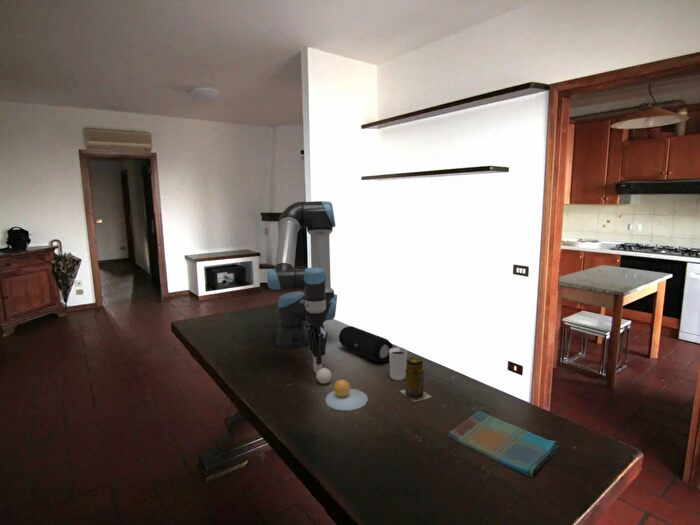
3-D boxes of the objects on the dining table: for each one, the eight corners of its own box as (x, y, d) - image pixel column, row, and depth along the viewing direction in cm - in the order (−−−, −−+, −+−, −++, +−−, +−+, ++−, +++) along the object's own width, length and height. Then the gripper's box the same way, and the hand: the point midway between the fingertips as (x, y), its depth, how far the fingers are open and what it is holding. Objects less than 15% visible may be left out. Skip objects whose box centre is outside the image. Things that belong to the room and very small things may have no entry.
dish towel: (532, 482, 92) (532, 472, 91) (446, 439, 109) (446, 430, 108) (559, 449, 103) (560, 440, 103) (477, 415, 120) (478, 407, 120)
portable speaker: (337, 349, 173) (336, 327, 172) (354, 343, 179) (354, 322, 178) (377, 367, 154) (377, 343, 152) (394, 360, 160) (394, 337, 158)
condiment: (417, 386, 138) (417, 354, 136) (432, 397, 130) (432, 363, 128) (399, 391, 134) (399, 358, 132) (413, 402, 127) (414, 367, 125)
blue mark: (338, 385, 139) (338, 385, 139) (374, 394, 133) (374, 393, 133) (317, 404, 127) (317, 403, 127) (356, 414, 120) (355, 414, 120)
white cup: (409, 374, 147) (409, 349, 145) (403, 381, 141) (404, 355, 140) (392, 371, 150) (392, 346, 148) (386, 378, 144) (386, 352, 142)
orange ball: (344, 374, 131) (351, 388, 128) (346, 379, 136) (353, 393, 133) (329, 382, 131) (336, 397, 128) (332, 387, 135) (339, 401, 132)
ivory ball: (329, 369, 138) (331, 384, 138) (330, 364, 144) (333, 379, 144) (313, 371, 139) (316, 387, 138) (315, 367, 144) (318, 382, 144)
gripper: (298, 307, 146) (301, 367, 150) (314, 316, 135) (317, 380, 139) (316, 304, 150) (318, 362, 154) (333, 312, 139) (335, 375, 143)
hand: (317, 371), depth 146 cm, fingers closed
